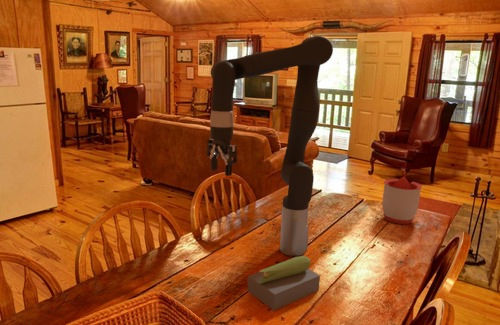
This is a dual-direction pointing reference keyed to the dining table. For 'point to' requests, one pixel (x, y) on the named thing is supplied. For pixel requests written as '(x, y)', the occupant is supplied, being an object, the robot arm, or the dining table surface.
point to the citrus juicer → (400, 200)
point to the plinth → (283, 288)
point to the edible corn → (286, 269)
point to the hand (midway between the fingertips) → (221, 172)
